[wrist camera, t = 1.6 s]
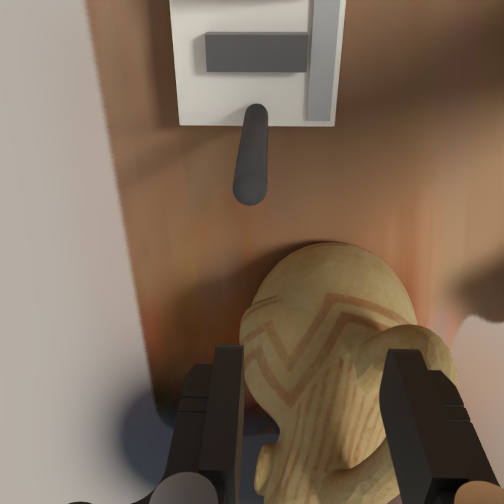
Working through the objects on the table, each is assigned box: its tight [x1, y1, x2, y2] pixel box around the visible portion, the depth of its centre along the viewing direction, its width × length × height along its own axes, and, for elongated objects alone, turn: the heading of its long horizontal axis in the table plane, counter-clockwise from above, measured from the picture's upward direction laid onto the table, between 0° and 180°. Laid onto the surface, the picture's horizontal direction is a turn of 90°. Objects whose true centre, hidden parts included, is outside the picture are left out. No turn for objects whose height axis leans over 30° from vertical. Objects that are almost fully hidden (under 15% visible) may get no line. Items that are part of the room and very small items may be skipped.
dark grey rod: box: [233, 103, 268, 206], centre depth 27 cm, size 2×2×14 cm
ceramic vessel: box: [239, 242, 458, 504], centre depth 34 cm, size 17×20×25 cm
